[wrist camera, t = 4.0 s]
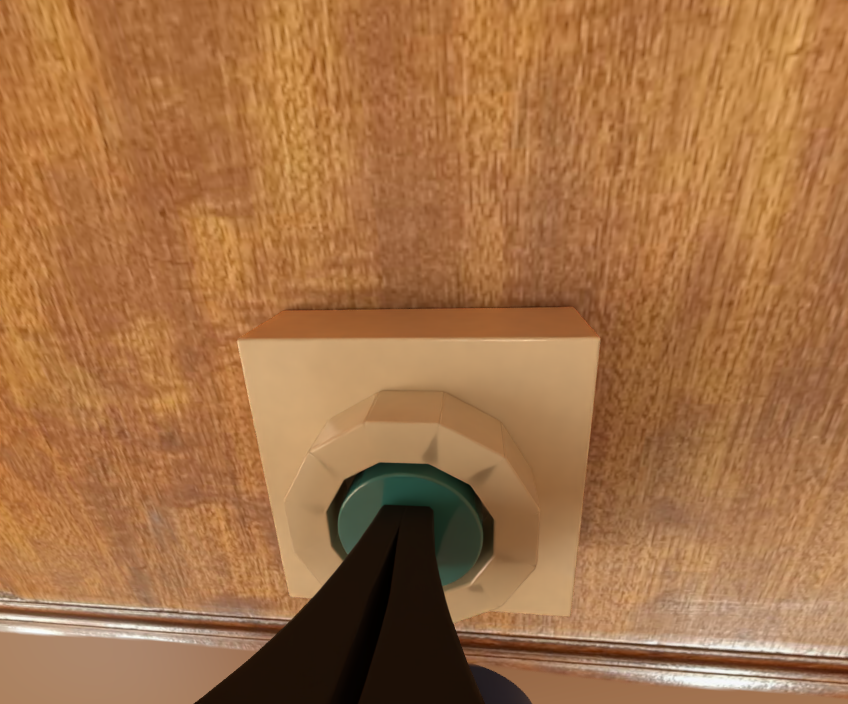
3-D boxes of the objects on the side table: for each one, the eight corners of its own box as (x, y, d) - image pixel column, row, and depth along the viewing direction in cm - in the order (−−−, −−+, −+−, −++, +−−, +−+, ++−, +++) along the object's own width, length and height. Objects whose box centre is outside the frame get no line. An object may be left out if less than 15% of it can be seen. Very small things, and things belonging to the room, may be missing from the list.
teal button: (482, 547, 14) (483, 595, 12) (359, 541, 14) (344, 586, 12) (483, 439, 12) (484, 477, 11) (347, 435, 13) (328, 471, 11)
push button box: (555, 545, 17) (584, 675, 13) (318, 532, 19) (265, 647, 14) (574, 306, 14) (624, 363, 9) (282, 309, 15) (196, 362, 10)
